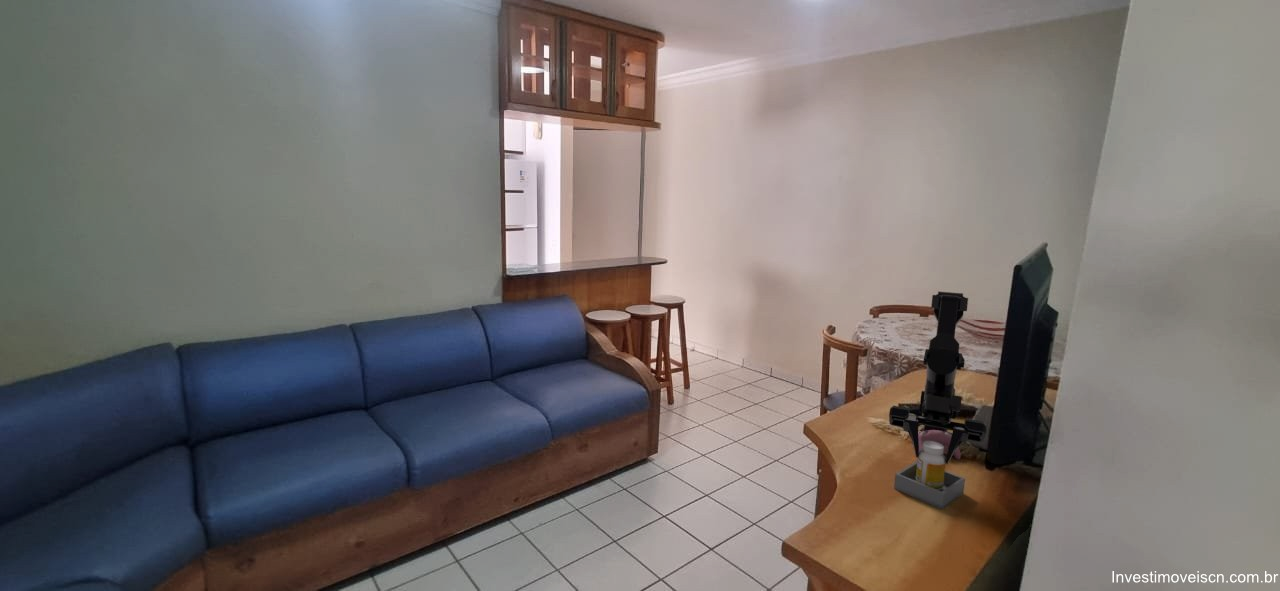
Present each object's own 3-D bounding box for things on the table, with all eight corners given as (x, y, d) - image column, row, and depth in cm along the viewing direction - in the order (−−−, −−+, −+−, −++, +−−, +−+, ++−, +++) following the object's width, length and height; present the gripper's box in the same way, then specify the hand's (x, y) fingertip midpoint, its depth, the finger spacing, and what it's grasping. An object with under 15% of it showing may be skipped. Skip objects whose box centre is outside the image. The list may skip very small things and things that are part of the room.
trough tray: (916, 474, 126) (918, 460, 126) (963, 493, 118) (965, 478, 118) (893, 488, 120) (895, 473, 120) (941, 509, 112) (943, 494, 112)
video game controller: (954, 459, 136) (951, 430, 138) (963, 459, 132) (959, 430, 134) (913, 457, 137) (911, 429, 139) (921, 458, 133) (918, 428, 135)
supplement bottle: (947, 487, 118) (952, 446, 117) (934, 494, 116) (939, 452, 114) (923, 476, 123) (928, 436, 121) (910, 483, 120) (914, 442, 118)
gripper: (893, 372, 123) (883, 436, 115) (991, 386, 113) (987, 457, 106) (894, 393, 131) (885, 454, 124) (985, 408, 122) (980, 475, 115)
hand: (931, 460), depth 117 cm, fingers closed on supplement bottle, 5 cm apart
